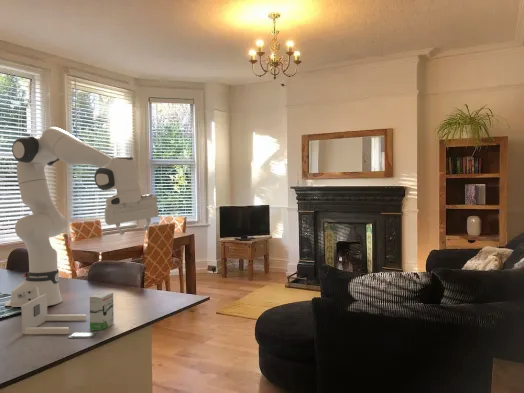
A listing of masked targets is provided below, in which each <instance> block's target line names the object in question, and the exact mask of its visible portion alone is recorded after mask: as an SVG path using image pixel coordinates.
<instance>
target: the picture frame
mask: <svg viewBox="0 0 524 393" xmlns="http://www.w3.org/2000/svg"><path fill="white" fill-rule="evenodd" d="M97 334H98V333H97V332H73V333H72V334H70V335H69V336H68V339H93V338H94V337H96V335H97Z"/></svg>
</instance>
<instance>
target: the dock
mask: <svg viewBox="0 0 524 393" xmlns="http://www.w3.org/2000/svg"><path fill="white" fill-rule="evenodd" d="M20 310H21V332H22V335H68V334H70V326H69V327H67V326H66V327H64V326H63V327H60V326H59V327H55V326H54V327H53V326H52V327H51V326H50V327H48V326H46V327H43V326H42V327H39V326H40V325H42V324H43V323H45V322H47V321H48V322H50V321H53V322H54V321H55V322H56V321H57V322H58V321H64V322H65V321H66V322H67V321H69V322H70V321H73V322H74V321H78V322H80V321H87V314H48V306H47V294H43V295H41V296H39V297H37V298H35V299H33V300H31V301H29V302H27V303H25V304H24V305H22V306H21V308H20Z"/></svg>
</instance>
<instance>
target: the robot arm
mask: <svg viewBox="0 0 524 393" xmlns="http://www.w3.org/2000/svg"><path fill="white" fill-rule="evenodd" d="M11 152H12V156H13V157H14V158H15V160H16V161H17V163H16V176H17V183H18V187H19V193H20V196H21V202H22V203H23V204H24V205H25V206H27V208H29V209H30V211H31V212H32V214H27V215H26V216H23V217H21V218H19V219H18V220H17V221H16V223H15V226H14V229H15V230H14V231H15V235H16V236H17V238H19V239H20V240H21V241H23V243H24V245H25V248H26V251H27V254H28V268H29V271H28V272H25V273H23V278H25V280H24V281H23V282H21V283H19V285H18V286H16V287H15V288H13V290H12V291H11V294H10V299H9V300H8V301H7V302H5V303H4V307H5V306H12V307H11V308H13V307H21V306H22V305H24V304H25V303H27V302H29V301H31V300H33V299H35V298H37V297H39V296H41V295H43V294H47V307H49V306H55V305H58V304H60V303H62V302H63V298H62V294H61V291H60V285H59V282H60V272H59V268H58V253H57V252H58V251H57V250H56V249H55V248H54V247H53V246H52V245H51V242H50V241H51V240H50V238H54V237H57V236H59V235H61V234H63V233H64V232H65V231H66V229H67V228H68V220H67V218H66V217H65V215H64V214H62V213H61V212H60V211H59V210H58V208H57V206H56V205H55V203H54V201H53V199H52V196H51V193H50V189H49V185H48V180H47V176H46V173H45V168H46V166H47V165H48V166H49V167H50V166H53V165H54V164H55V163H57V162H59V161H61V162H64V163H66V164H68V165H76V166H77V165H79V166H80V165H81V166H82V165H83V166H84V165H86V166H95V167H98V168H97V169H96V171H95V172H94V174H93V175H94V176H93V177H94V184H95V185H96V186H97V188H98V189H99V190H101V191H105V192H106V191H113V190H116V194H115V195H113V196H110V197H109V198H107V199H106V200H105V204H106V206H105V208H104V222H105V224H106V225H108V226H111V225H115V227H116V228H117V229H118V231H119V235H120V236H122V235H125V230H124V229H122V228H121V224H124V223H128V222H134V221H141V220H145V221H146V224H144V225H143V229H144V231H149V230H150V228H149V226H150V224H151V219H153V218H157V217H158V216H159V215H160V212H159V208H158V205H157V204H158V198H157V196H156V195H155V194H153V193H149V194H142V192H141V191H142V190H141V187H140V183H139V170H138V167H137V166H138V165H137V163H136V162H137V161H136V160H135V158H134V157H133V156H132V155H116V156H111V155H109V154H108V153H106V152H104V151H102V150H101V149H98V148H96V147H94V146H92V145H90V144H88V143H86V142H84V141H83V140H81V139H79V138H77V137H76V136H74V135H73V134H71V133H69V132H68V131H67V130H64V129H62V128H60V127H56V126H52V127H48V128H47V129H45V130H44V131H43V133H42V134H41V136H23V137H19V138H17V139H15V141H14V142H13V144H12V146H11Z"/></svg>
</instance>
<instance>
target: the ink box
mask: <svg viewBox="0 0 524 393" xmlns="http://www.w3.org/2000/svg"><path fill="white" fill-rule="evenodd" d="M114 321H115V320H114V292H111V291H110V292H109V291H100V292H98V293H95V294H93V295H91V296H89V330H91V331H103V330H105V329H107V328H108V327H110V326H111V325H113V324H114V323H115V322H114Z"/></svg>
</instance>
